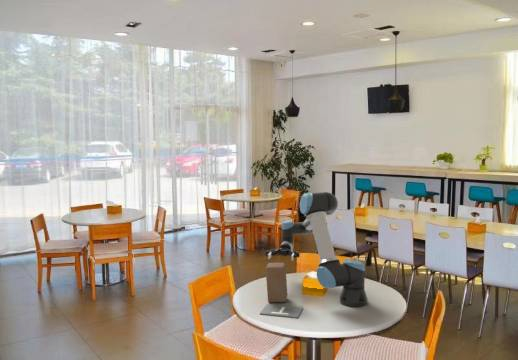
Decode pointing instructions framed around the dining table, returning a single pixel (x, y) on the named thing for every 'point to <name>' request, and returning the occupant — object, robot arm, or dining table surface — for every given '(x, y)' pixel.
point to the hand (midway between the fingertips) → (280, 257)
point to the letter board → (281, 311)
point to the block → (276, 282)
